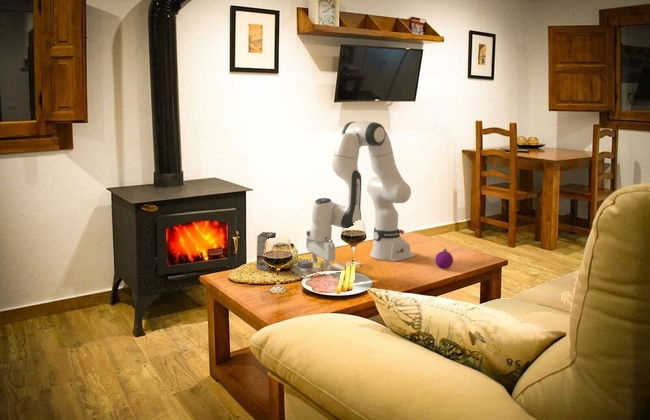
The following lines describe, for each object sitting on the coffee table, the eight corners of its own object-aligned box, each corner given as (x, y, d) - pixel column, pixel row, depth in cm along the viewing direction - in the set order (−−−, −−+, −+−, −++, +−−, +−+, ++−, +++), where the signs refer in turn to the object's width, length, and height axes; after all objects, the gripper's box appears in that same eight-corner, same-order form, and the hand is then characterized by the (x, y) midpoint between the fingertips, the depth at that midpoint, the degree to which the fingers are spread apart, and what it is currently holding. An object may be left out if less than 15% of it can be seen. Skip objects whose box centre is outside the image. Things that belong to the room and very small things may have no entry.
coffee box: (269, 272, 267) (270, 237, 264) (256, 271, 269) (256, 236, 265) (275, 266, 276) (276, 232, 273) (262, 265, 277) (262, 231, 274)
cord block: (320, 268, 273) (320, 257, 272) (325, 271, 268) (326, 260, 267) (297, 271, 267) (297, 260, 266) (302, 274, 263) (302, 263, 262)
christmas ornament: (446, 272, 278) (448, 251, 276) (431, 267, 283) (432, 247, 281) (455, 268, 284) (457, 247, 282) (440, 264, 289) (442, 244, 287)
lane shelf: (339, 264, 283) (339, 256, 282) (354, 272, 272) (355, 264, 271) (289, 271, 270) (290, 263, 269) (303, 280, 259) (304, 271, 258)
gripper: (339, 240, 259) (338, 271, 262) (316, 229, 277) (315, 258, 279) (327, 241, 256) (325, 272, 259) (304, 230, 273) (303, 260, 276)
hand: (320, 265), depth 269 cm, fingers open, 8 cm apart
